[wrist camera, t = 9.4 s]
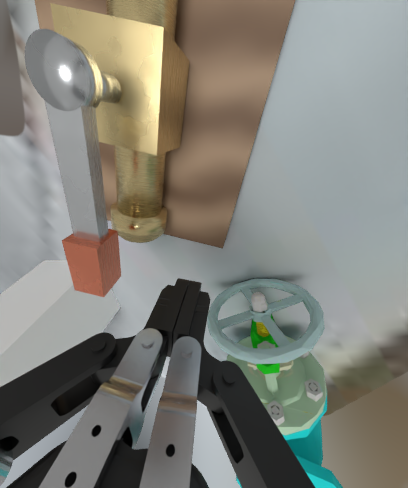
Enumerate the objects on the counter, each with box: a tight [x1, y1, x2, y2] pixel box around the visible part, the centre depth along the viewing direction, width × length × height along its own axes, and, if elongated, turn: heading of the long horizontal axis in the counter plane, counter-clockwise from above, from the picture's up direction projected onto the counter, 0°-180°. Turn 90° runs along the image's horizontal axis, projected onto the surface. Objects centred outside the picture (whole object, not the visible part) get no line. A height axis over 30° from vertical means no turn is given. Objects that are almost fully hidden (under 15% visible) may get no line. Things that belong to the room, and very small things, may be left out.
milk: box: [0, 260, 120, 387], centre depth 27 cm, size 12×12×26 cm
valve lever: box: [25, 29, 121, 297], centre depth 13 cm, size 3×16×3 cm, turn 170°
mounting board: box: [35, 0, 295, 248], centre depth 20 cm, size 30×22×2 cm
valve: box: [208, 279, 343, 488], centre depth 29 cm, size 14×18×30 cm
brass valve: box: [50, 0, 190, 243], centre depth 16 cm, size 28×7×11 cm, turn 169°
